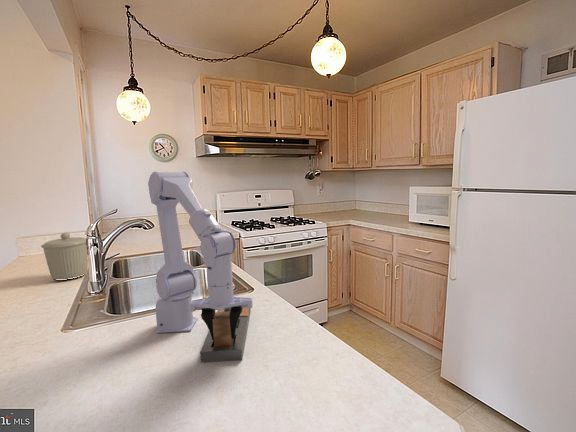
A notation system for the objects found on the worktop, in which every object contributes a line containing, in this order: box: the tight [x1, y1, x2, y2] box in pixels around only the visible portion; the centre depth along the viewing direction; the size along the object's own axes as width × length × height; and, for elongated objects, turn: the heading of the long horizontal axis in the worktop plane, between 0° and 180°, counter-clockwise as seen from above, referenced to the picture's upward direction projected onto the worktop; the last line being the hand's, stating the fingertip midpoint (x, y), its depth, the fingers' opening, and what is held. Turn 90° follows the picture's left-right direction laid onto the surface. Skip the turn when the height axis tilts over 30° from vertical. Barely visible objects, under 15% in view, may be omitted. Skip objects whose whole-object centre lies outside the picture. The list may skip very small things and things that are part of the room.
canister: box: [40, 232, 89, 280], centre depth 142 cm, size 18×18×21 cm
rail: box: [199, 307, 252, 363], centre depth 84 cm, size 9×27×3 cm, turn 3°
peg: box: [212, 311, 234, 347], centre depth 75 cm, size 4×4×9 cm
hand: (223, 337), depth 75 cm, fingers closed on peg, 4 cm apart
